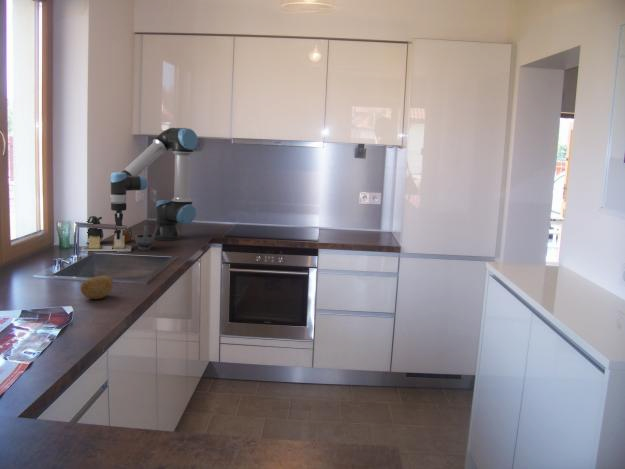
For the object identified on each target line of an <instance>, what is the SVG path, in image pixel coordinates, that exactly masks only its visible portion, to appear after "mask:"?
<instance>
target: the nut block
mask: <svg viewBox="0 0 625 469" xmlns="http://www.w3.org/2000/svg"><path fill="white" fill-rule="evenodd" d="M113 246H114V249H125V246H126V244H125V236H121V246H116V236H114V235H113Z"/></svg>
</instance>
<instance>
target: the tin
mask: <svg viewBox="0 0 625 469" xmlns="http://www.w3.org/2000/svg"><path fill="white" fill-rule="evenodd" d="M114 236H115V233H114V232H113V237H114ZM122 236H125V243H128V242H131V240H132V236H133V233H132V229H131V227H129V228H128V229H127V230H122Z"/></svg>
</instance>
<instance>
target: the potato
mask: <svg viewBox="0 0 625 469" xmlns="http://www.w3.org/2000/svg"><path fill="white" fill-rule="evenodd" d="M113 286H114V282H113V278H112V277H111V276H110V275H104V274H103V275H99V276H93V277H91V278H89V279H85V281H83V282H82V283H81V284H80V292H81V294H82V295H83V296H84V297H85V298H88V299H91V300H100V299H104V298H105V297H106V296H108V295H110V293H111V291H112V290H113Z"/></svg>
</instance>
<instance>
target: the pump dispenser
mask: <svg viewBox="0 0 625 469" xmlns="http://www.w3.org/2000/svg"><path fill="white" fill-rule="evenodd" d="M88 218H89V219H88ZM88 218H87V220H88V221H87V220H86V222H88V223H93V224H101V225H102V223H101V221H100V220H102V219H103V217H102V216H99V217H98V216H94V215H92V216H89V217H88ZM87 233H88V239H89V236H100V243H102V241H103V240H104V230H103V228H102V229H97V228H89V229H88V232H87Z"/></svg>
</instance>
